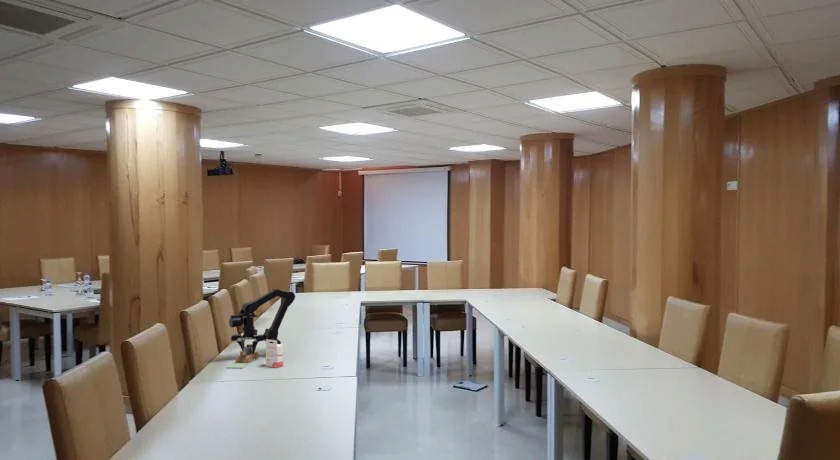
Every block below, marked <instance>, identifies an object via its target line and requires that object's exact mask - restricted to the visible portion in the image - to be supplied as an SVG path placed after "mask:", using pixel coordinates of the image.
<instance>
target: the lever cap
mask: <svg viewBox="0 0 840 460" xmlns="http://www.w3.org/2000/svg"><path fill="white" fill-rule="evenodd" d="M243 351H245V352H246V355H251V354H253V347H252V344H251V343H249V344H246V345H245V347H244V348H243Z"/></svg>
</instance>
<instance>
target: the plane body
mask: <svg viewBox="0 0 840 460" xmlns="http://www.w3.org/2000/svg"><path fill="white" fill-rule="evenodd" d="M259 357H260V356H259V351H256V350H255V352H254V353H253V354H251V355H246V352H245V351H242V350H241V351H240V352H239V356H236V357H235V363H249V364H250V363H252V362H253V361H254V359H255V360H256V359H258V358H259ZM251 361H252V362H251Z"/></svg>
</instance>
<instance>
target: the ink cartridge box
mask: <svg viewBox="0 0 840 460" xmlns="http://www.w3.org/2000/svg"><path fill="white" fill-rule="evenodd" d="M270 342H273V343H270ZM265 367H271V368H275V369H276V368H281V367H284V344H277V340H268V339H266V341H265Z"/></svg>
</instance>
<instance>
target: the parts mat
mask: <svg viewBox="0 0 840 460" xmlns="http://www.w3.org/2000/svg"><path fill="white" fill-rule="evenodd" d="M249 364H250V363H236V362H233V363H231V364H229V365H228V366H225V369H233V368H234V369H235V370H237V369H240V370H242V368H246V367H247V366H249Z"/></svg>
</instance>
